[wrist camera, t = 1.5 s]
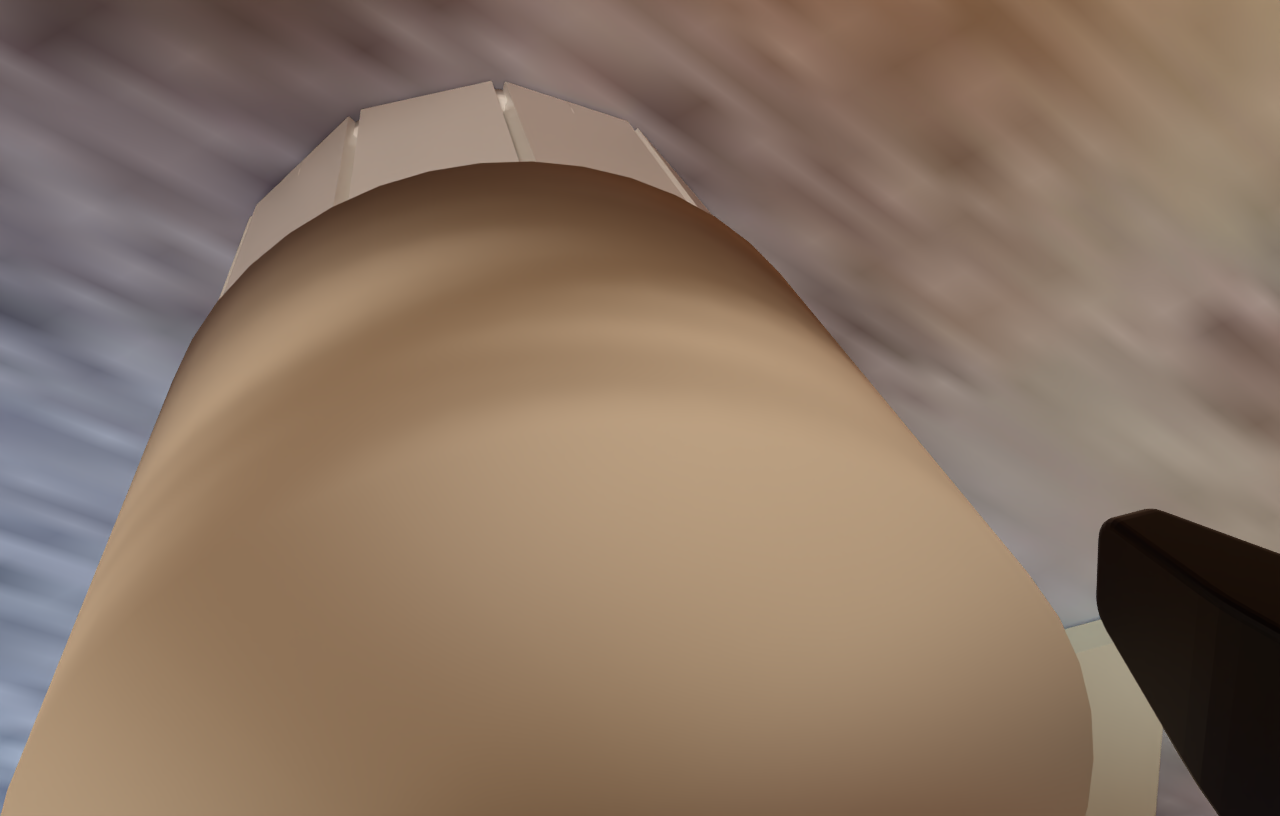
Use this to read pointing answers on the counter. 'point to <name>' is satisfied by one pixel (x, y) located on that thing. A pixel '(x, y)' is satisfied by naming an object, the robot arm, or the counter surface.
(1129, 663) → the robot arm
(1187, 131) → the counter surface
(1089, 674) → the mat
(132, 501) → the beige rounded cylinder
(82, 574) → the counter surface
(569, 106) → the bowl
